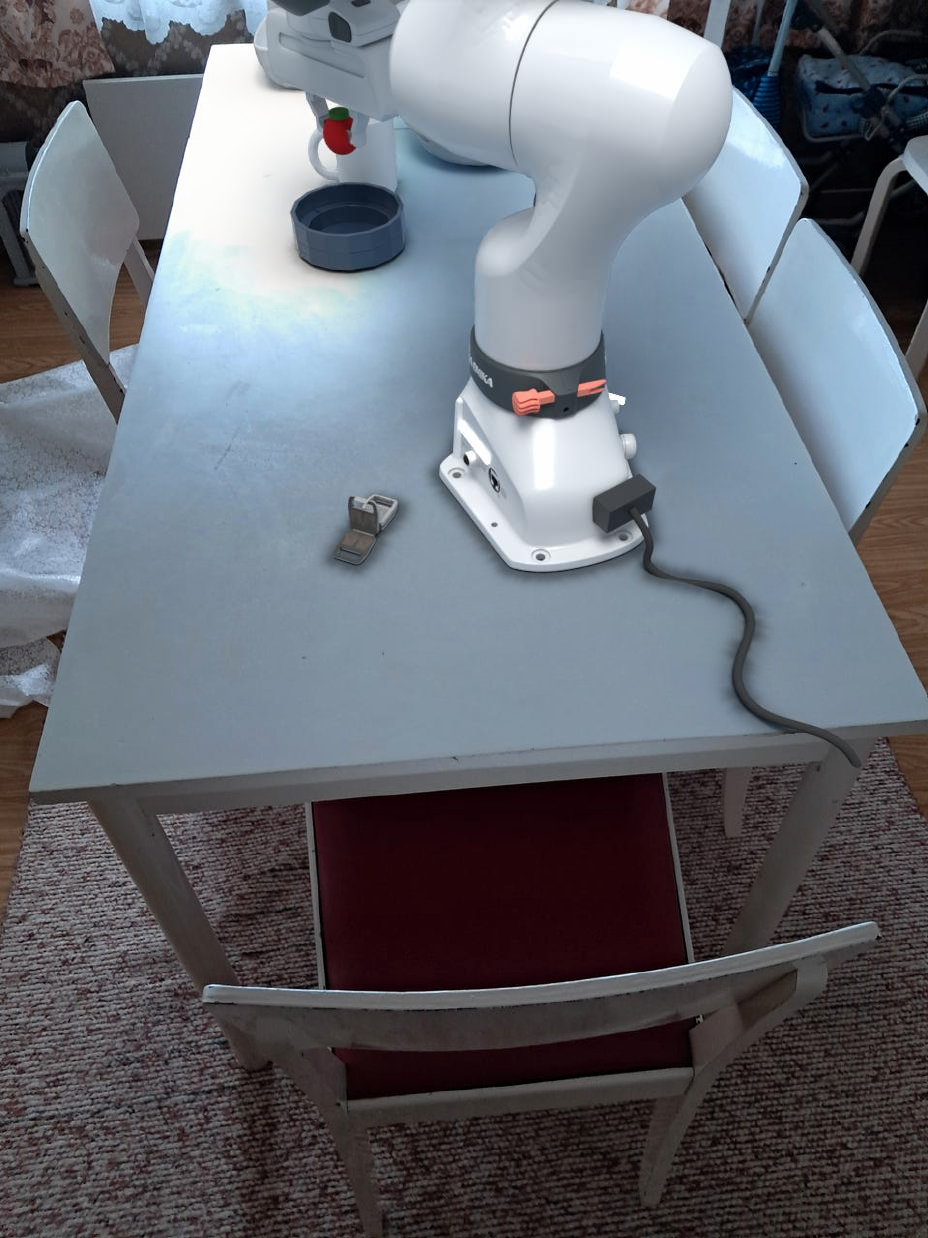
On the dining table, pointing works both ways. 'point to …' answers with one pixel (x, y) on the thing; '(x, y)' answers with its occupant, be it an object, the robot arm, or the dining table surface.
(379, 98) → the robot arm
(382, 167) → the mug
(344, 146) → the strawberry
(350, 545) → the strap clip
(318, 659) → the dining table surface
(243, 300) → the dining table surface
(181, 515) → the dining table surface
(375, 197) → the bowl
